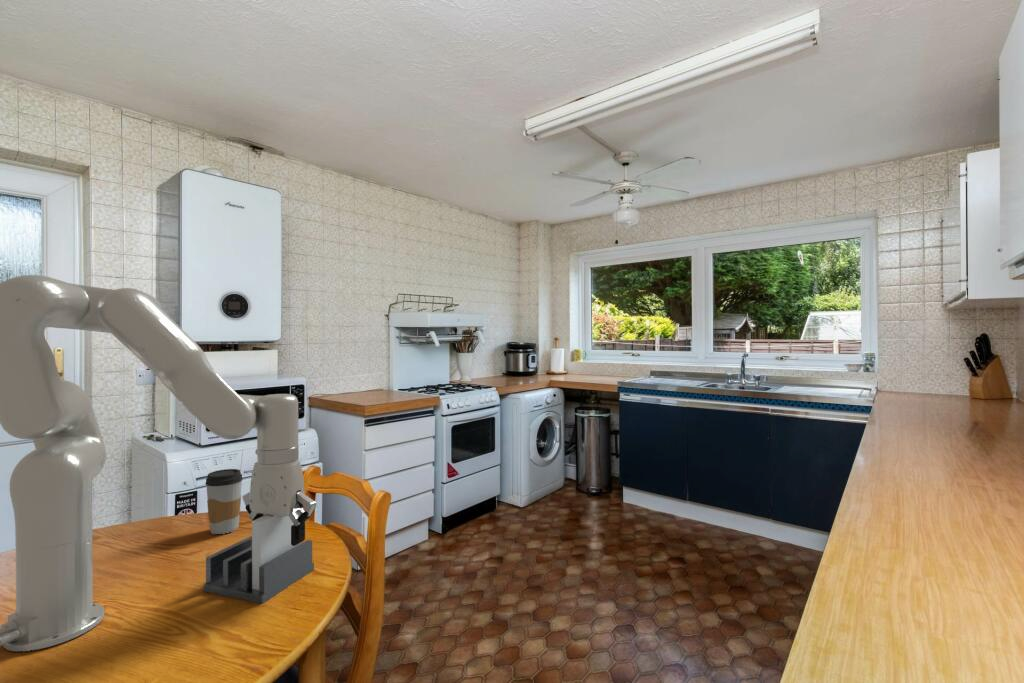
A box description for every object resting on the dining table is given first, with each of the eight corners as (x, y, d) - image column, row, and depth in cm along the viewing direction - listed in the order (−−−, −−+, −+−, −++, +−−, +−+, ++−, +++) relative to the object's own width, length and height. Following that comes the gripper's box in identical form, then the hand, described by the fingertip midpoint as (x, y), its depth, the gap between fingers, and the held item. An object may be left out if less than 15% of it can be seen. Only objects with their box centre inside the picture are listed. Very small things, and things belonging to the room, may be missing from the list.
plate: (260, 590, 93) (260, 522, 92) (252, 588, 93) (251, 521, 93) (301, 564, 103) (301, 503, 103) (293, 563, 104) (293, 502, 104)
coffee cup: (250, 526, 129) (250, 469, 129) (223, 538, 121) (223, 478, 121) (225, 523, 131) (224, 467, 131) (197, 535, 123) (197, 475, 123)
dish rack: (262, 603, 91) (262, 568, 91) (203, 591, 95) (203, 558, 95) (314, 569, 104) (313, 539, 104) (260, 560, 108) (260, 531, 108)
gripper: (229, 456, 97) (229, 542, 97) (299, 463, 92) (300, 553, 92) (259, 448, 104) (259, 528, 104) (326, 454, 99) (326, 538, 99)
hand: (278, 540), depth 98 cm, fingers open, 9 cm apart
